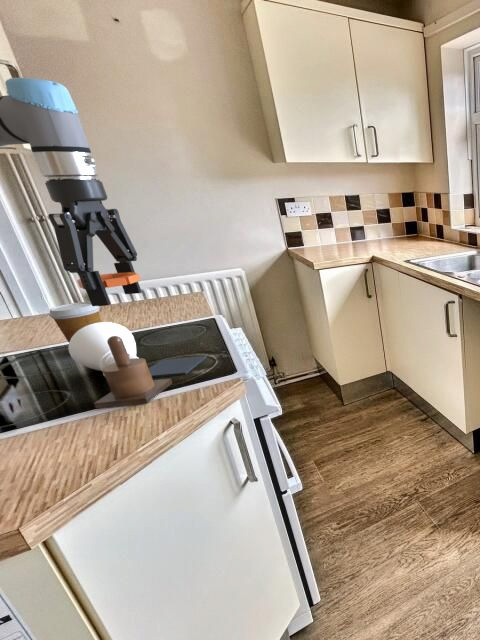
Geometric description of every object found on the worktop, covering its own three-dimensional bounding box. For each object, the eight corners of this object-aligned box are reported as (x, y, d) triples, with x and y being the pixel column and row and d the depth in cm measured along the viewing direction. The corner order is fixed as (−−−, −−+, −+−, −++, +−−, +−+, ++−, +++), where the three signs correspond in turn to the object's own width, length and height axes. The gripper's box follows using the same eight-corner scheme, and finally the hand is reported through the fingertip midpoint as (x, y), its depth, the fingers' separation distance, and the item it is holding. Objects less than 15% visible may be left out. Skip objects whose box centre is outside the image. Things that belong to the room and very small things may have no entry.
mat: (136, 379, 95) (136, 377, 94) (162, 361, 104) (161, 359, 104) (186, 374, 96) (185, 372, 96) (207, 357, 105) (206, 355, 105)
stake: (96, 408, 82) (68, 346, 77) (126, 387, 90) (103, 330, 86) (147, 403, 84) (123, 342, 79) (172, 383, 92) (152, 326, 87)
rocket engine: (126, 340, 88) (94, 312, 96) (82, 387, 84) (53, 354, 93) (178, 363, 97) (146, 336, 106) (141, 406, 94) (110, 375, 102)
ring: (69, 290, 79) (66, 283, 78) (101, 280, 87) (99, 273, 86) (120, 287, 80) (118, 280, 80) (148, 277, 88) (146, 271, 88)
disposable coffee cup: (68, 348, 114) (49, 306, 110) (115, 339, 120) (98, 299, 115) (64, 358, 107) (43, 313, 103) (113, 349, 113) (96, 306, 108)
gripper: (47, 177, 67) (101, 312, 75) (134, 178, 87) (169, 285, 95) (-8, 179, 66) (53, 316, 74) (93, 179, 86) (132, 287, 94)
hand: (118, 298), depth 85 cm, fingers closed on ring, 9 cm apart
